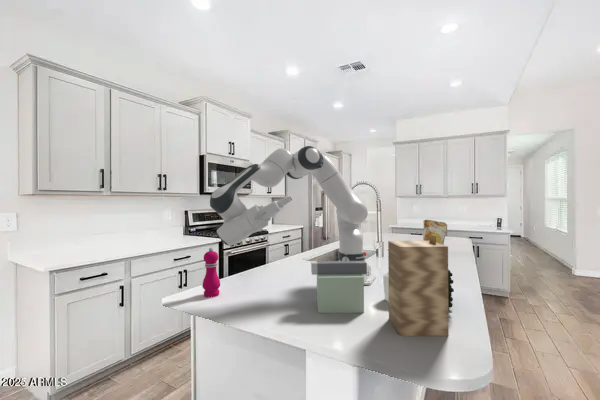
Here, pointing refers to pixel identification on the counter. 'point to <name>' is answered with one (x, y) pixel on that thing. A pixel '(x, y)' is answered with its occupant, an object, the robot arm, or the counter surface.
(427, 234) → the pancake mix bag
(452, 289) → the toy figurine
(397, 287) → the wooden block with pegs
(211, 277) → the pepper mill
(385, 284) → the white cup
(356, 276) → the green platform
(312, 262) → the bar
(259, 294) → the counter surface
